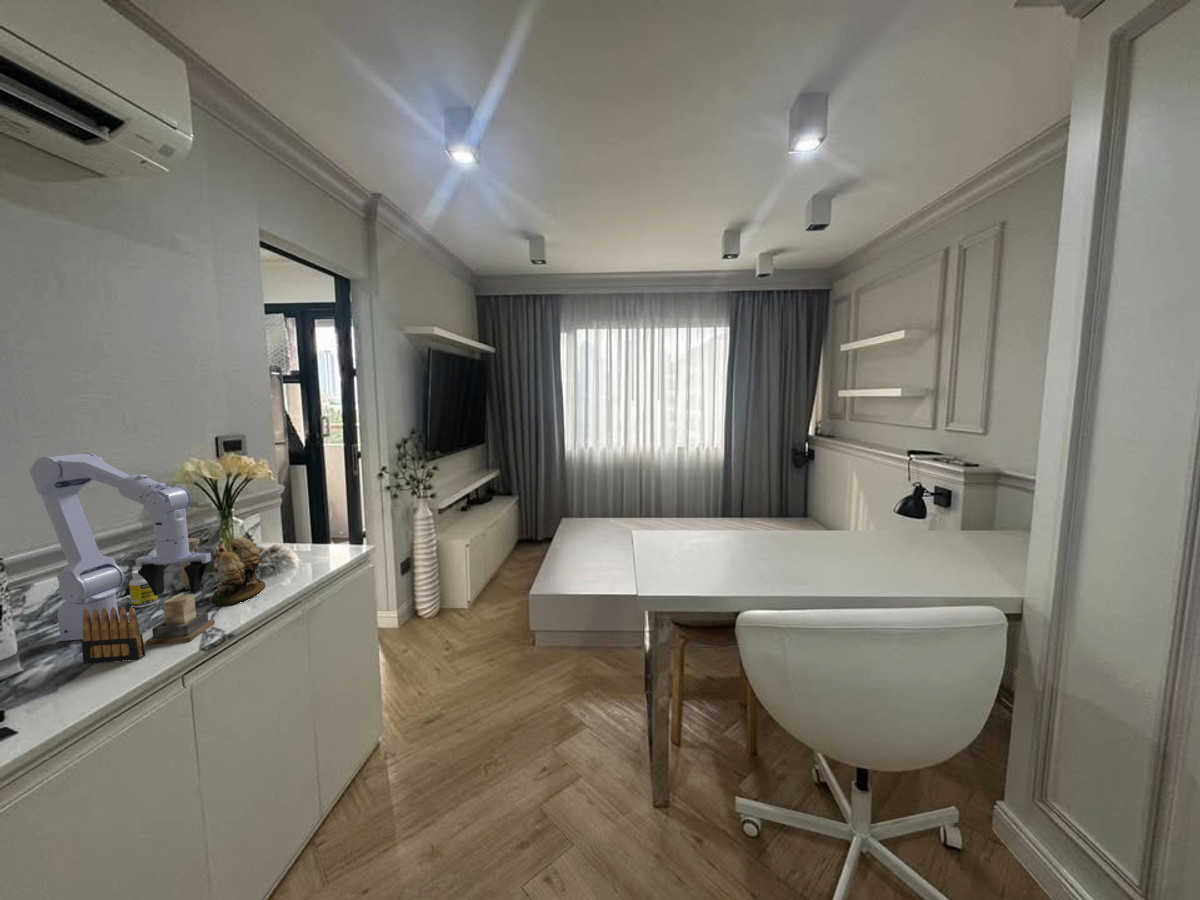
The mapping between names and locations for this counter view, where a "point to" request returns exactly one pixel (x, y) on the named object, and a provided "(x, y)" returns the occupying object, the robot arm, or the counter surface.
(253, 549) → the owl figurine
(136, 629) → the ammunition clip
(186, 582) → the handle
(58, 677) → the counter surface
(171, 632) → the socket
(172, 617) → the square peg
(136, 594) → the supplement bottle
